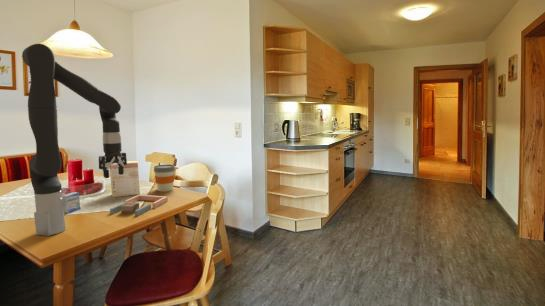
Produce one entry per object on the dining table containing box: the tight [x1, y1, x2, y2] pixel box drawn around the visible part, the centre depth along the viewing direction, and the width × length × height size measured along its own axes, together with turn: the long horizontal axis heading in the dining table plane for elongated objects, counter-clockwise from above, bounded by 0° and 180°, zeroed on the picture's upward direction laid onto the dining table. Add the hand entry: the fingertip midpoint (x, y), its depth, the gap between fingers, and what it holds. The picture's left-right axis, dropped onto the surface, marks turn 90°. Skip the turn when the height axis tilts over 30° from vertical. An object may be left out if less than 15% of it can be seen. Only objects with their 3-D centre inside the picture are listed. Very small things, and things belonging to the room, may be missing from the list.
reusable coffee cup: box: [153, 164, 176, 192], centre depth 196 cm, size 13×13×15 cm
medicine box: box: [62, 191, 81, 214], centre depth 156 cm, size 8×4×9 cm, turn 168°
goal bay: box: [123, 194, 169, 209], centre depth 169 cm, size 12×18×2 cm
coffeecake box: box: [109, 160, 141, 198], centre depth 185 cm, size 15×7×20 cm, turn 114°
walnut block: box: [120, 202, 140, 215], centre depth 156 cm, size 6×6×4 cm
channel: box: [109, 201, 152, 217], centre depth 156 cm, size 11×15×2 cm
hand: (114, 176), depth 147 cm, fingers open, 8 cm apart
